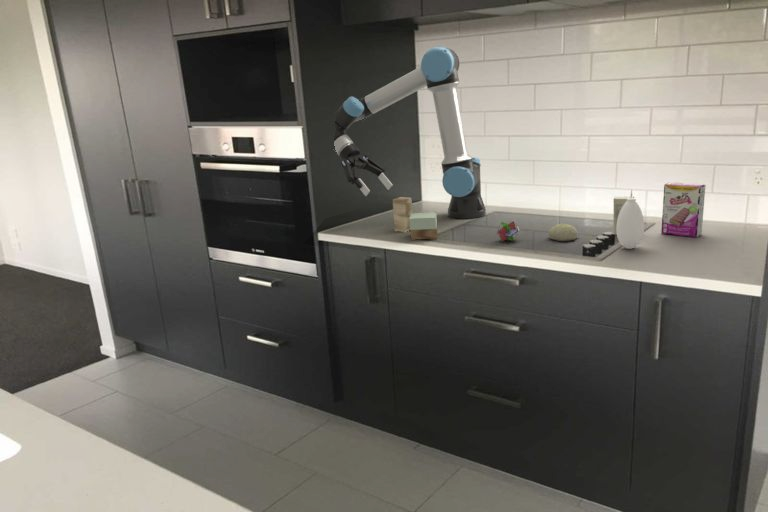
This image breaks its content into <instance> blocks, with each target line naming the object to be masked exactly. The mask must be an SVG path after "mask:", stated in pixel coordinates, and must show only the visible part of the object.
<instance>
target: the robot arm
mask: <svg viewBox="0 0 768 512" xmlns="http://www.w3.org/2000/svg"><path fill="white" fill-rule="evenodd" d="M459 68H460V59H459V56H458V55H457V53H456V51H454V50H452V49H451V48H448V47H444V46H435V47H432V48H430V49H429V50H427V51H426V52H425V53H424V54H423V55H422V58H421V62H420V66H418V67H417V68H415V69H414V70H412V71H410V72H408V73H406V74H405V75H403V76H401V77H399V78H397V79H395V80H393V81H391V82H389V83H388V84H385V85H384V86H382V87H380V88H378V89H376V90H374V91H373V92H370V93H369V94H368V95H365V96H364V97H362V98H360V99H361V100H360V99H358V98H356V97H355V96H349V97H348V98H347V99H346V100H345V101H344V102H343V103H342V104H341V106H340V107H339V108H338V109H339V110H337V111H338V112H337V111H336V112H337V115H336V121H335V126H336V127H335V128H336V132H335V136H334V137H335V138H334V146H335V150H336V151H335V150H334V151H335V153H336V152H337V153H336V154H337V155H338V156H339V158H340V159H341V161H342V162H340V165H341V166H342V168H343V170H344V174H345V177H346V180H347V182H348V183H350V184H351V185H354V184H355V187H357V188H358V189H359V190H360V191H361V192H362V194H363V195H364V197H367V196H368V195H369V194H370V192H371V190H370V189H369V187H368V186H367V185H366V184H365V183H364V181H363V180H362V179H361V178H360V177H359V175H358V170H360V169H362V170H366V171H368V172H370V173H372V174H374V175H376V176H378V177H377V179H379V181H380V182H381V183H382V185H384V187H385V188H386V190H389V191H390V189H391V188H392V187H393V186H394V184H393V183H392V182H391V181H390V179H389V177H388V176H387V175H386V174H385V172H386V168H384V167H383V166H382V165H380V164H379V163H377V162H376V161H374V160H373V159H372V158H371V157H370V156H368V154H364V156H362V155H361V153H360V152H361V151H360V149H359V148H358V147H357V145H356V144H354V142H353V140H352V139H351V137H350V136H349V135H348V134H347V133H346V131H348V129H349V128H350V127H351V125H352V124H354V123H355V122H360V121H359V120H362V119H364V118H366V119H368V118H367V117H371V116H372V115H374V114H376V113H378V112H380V111H381V110H384V109H386V108H387V107H389V106H391V105H393V104H395V103H396V102H399V101H400V100H403V99H404V98H406V97H409V96H410V95H412V94H414V93H416V92H418V91H420V90H421V89H424V88H425V87H426V88H427V90H428V91H429V92H431V93H432V97H433V102H434V107H435V112H436V118H437V125H438V130H439V135H440V140H441V145H442V146H441V147H442V151H443V160H442V161H441V163H440V164H441V169H442V175H443V176H442V179H441V180H442V181H441V182H442V186H443V189H444V191H445V192H446V193H447V194H448V195H450V196H451V198H450V202H449V205H448V208H447V216H448V217H449V218H451V219H462V220H463V219H464V220H466V219H476V218H481V217H484V216H486V214H487V210H486V206H485V203H484V200H483V197H482V193H481V191H482V189H481V187H482V186H481V185H482V184H481V166H482V164H481V160H480V158H479V157H473V156H472V155H470V154H469V153H468V151H467V150H468V149H467V145H466V138H465V134H464V126H463V121H462V115H461V110H460V104H459V100H458V98H459V97H458V94H457V87H458V85H459V83H460V80H459V73H458V71H459ZM359 100H360V101H359ZM364 120H365V119H364ZM362 121H363V120H362ZM340 127H341V128H340ZM358 177H359V178H358Z"/></svg>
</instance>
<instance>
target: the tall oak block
mask: <svg viewBox="0 0 768 512" xmlns="http://www.w3.org/2000/svg"><path fill="white" fill-rule="evenodd" d="M412 199H413V198H412V197H404V196H399V197H396V198H394V199H393V198H392V209H393V210H392V212H393V224H394V226H393V227H394V229H393V230H394V232H397V231H401V232H400V233H407V231H408V232H410V231H409V230H410V221H409V218H410V215H411V213H413V203H412V202H413V200H412Z"/></svg>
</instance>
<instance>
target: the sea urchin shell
mask: <svg viewBox="0 0 768 512" xmlns="http://www.w3.org/2000/svg"><path fill="white" fill-rule="evenodd" d="M548 237H549V238H550V239H551V240H554V241H558V242H559V241H560V242H568V241H569V242H571V241H575V240H576V239H577V237H578V230H577V228H575V227H574V226H573V225H571V224H568V223H558V224H555V225H554V226H552V227H551V228H550V229H549V231H548Z"/></svg>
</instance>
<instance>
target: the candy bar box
mask: <svg viewBox="0 0 768 512" xmlns="http://www.w3.org/2000/svg"><path fill="white" fill-rule="evenodd" d="M663 186H664V187H663V200H662V218H661V231H660V232H661V234H663V235H672V236H681V237H689V238H698V237H700V236H702V232H703V219H704V210H705V209H704V208H705V195H706V184H704V183H703V184H702V183H690V182H689V183H686V182H674V181H669V182H667V183H665V184H664V185H663Z"/></svg>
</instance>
